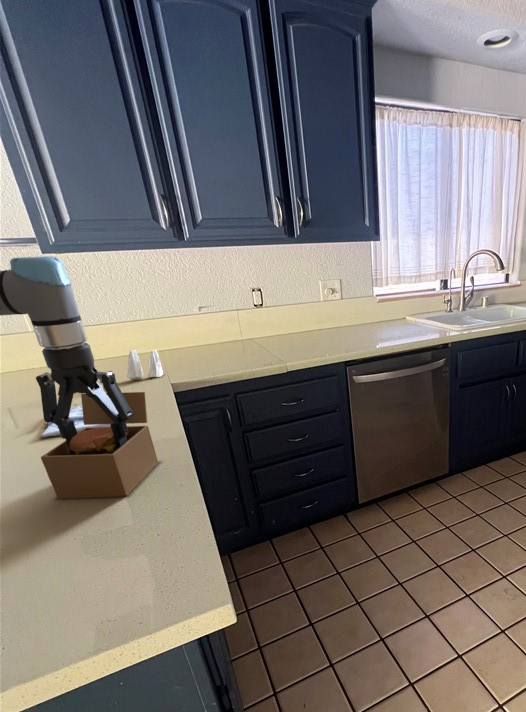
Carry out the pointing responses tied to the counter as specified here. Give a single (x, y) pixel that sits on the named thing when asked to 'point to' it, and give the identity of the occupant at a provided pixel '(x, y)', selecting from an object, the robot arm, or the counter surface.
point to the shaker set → (135, 366)
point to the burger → (94, 442)
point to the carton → (101, 467)
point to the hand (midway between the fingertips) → (100, 450)
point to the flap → (98, 416)
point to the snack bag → (74, 416)
